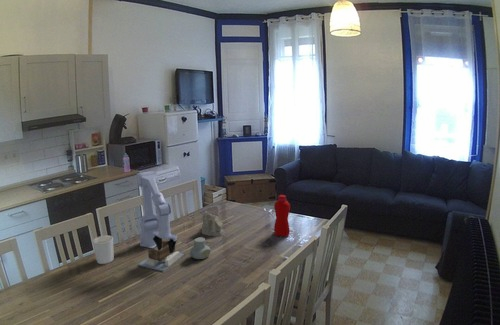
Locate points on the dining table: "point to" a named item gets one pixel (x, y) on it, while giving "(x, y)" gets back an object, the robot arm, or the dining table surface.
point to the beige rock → (212, 225)
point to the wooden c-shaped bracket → (160, 252)
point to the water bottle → (282, 216)
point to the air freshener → (199, 249)
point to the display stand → (161, 262)
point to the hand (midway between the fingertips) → (165, 250)
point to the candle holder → (104, 249)
